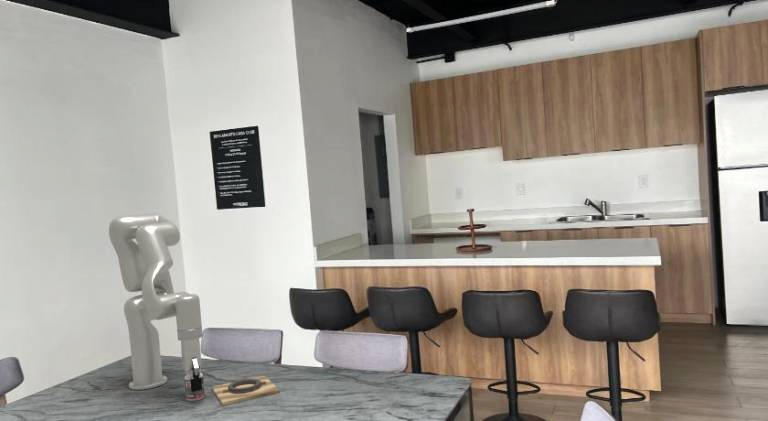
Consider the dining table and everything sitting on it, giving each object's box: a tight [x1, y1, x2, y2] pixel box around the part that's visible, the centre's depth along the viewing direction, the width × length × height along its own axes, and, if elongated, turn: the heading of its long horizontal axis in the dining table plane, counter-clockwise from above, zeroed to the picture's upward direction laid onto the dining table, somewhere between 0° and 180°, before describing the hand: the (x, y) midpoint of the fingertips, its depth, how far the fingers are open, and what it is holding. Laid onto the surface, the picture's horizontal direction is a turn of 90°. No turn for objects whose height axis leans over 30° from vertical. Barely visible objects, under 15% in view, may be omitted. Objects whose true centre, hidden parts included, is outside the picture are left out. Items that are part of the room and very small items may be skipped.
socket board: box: [211, 375, 281, 407], centre depth 187 cm, size 18×18×2 cm
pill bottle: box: [184, 368, 206, 402], centre depth 184 cm, size 6×6×10 cm
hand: (194, 386), depth 184 cm, fingers open, 8 cm apart
